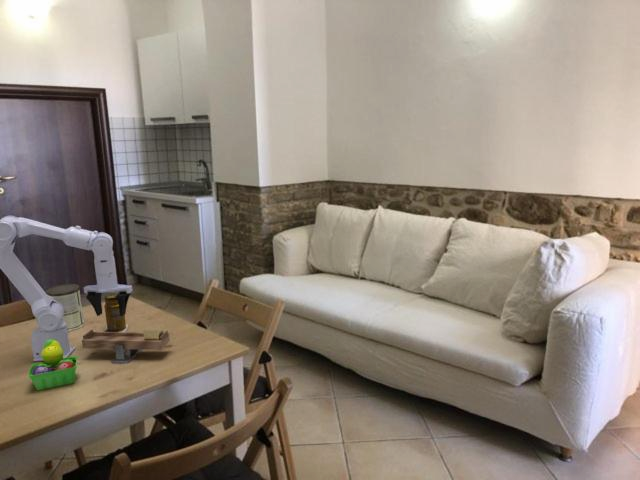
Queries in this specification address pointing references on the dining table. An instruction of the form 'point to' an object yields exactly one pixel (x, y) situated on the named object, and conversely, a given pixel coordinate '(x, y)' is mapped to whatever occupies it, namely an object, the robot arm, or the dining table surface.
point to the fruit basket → (53, 367)
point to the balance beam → (123, 340)
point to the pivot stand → (124, 354)
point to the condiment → (114, 315)
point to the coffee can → (69, 304)
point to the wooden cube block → (153, 332)
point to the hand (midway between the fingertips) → (111, 314)
